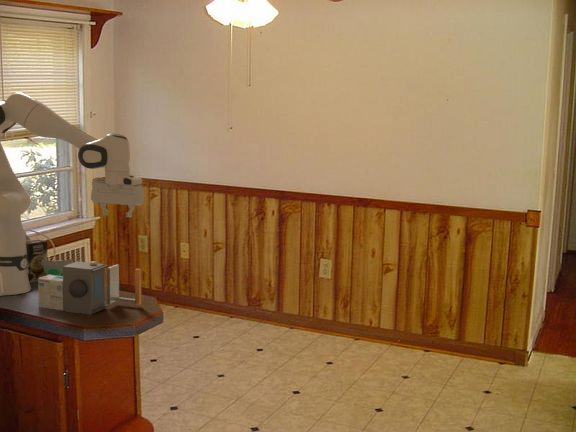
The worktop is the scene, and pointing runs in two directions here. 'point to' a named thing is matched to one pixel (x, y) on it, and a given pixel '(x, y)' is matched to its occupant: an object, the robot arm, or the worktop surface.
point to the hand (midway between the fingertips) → (117, 216)
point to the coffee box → (35, 259)
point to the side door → (114, 286)
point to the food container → (55, 266)
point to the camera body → (84, 287)
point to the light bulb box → (51, 292)
